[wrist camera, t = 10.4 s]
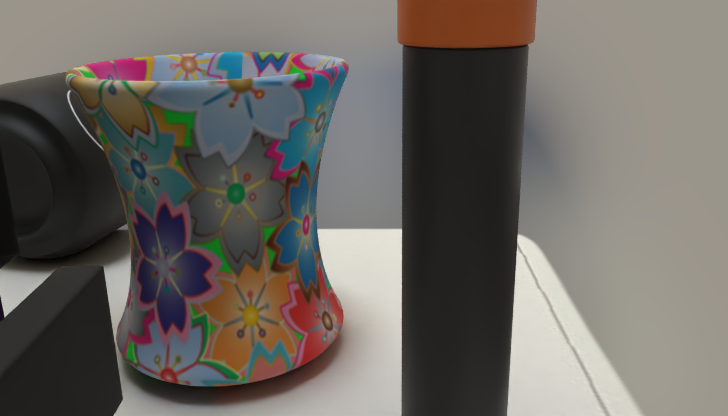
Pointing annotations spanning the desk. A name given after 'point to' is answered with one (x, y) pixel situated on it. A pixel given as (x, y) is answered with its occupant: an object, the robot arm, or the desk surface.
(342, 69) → the mug
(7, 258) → the energy cube
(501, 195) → the marker
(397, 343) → the desk surface
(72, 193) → the mug
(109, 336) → the robot arm
